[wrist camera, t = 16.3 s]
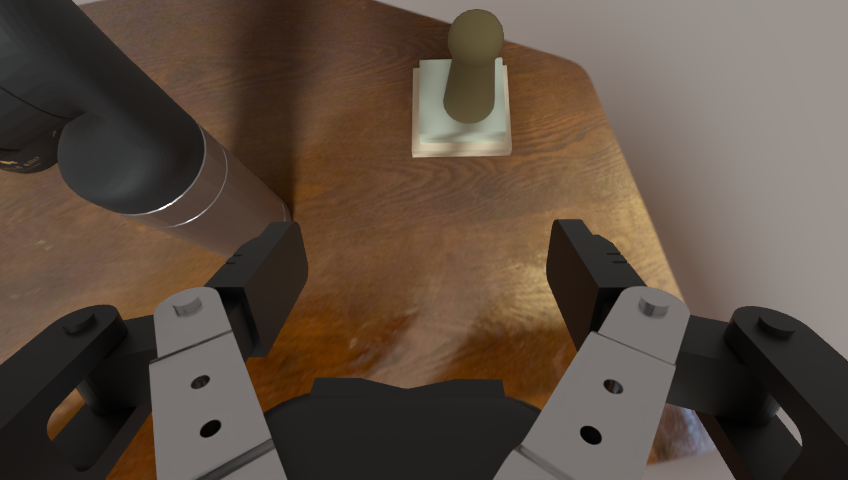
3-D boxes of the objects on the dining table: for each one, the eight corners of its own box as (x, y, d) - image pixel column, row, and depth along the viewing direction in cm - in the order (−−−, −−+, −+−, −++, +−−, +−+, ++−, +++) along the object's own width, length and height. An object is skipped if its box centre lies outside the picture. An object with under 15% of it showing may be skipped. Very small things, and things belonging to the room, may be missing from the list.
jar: (3, 188, 49) (-75, 160, 41) (1, 125, 51) (-72, 88, 44) (79, 163, 49) (16, 131, 42) (73, 102, 52) (12, 61, 45)
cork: (485, 130, 43) (499, 59, 32) (435, 115, 44) (433, 42, 33) (501, 87, 45) (519, 6, 34) (452, 73, 45) (456, -10, 35)
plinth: (412, 157, 47) (410, 140, 43) (414, 76, 50) (411, 53, 46) (509, 155, 46) (515, 138, 43) (504, 73, 50) (509, 50, 46)
